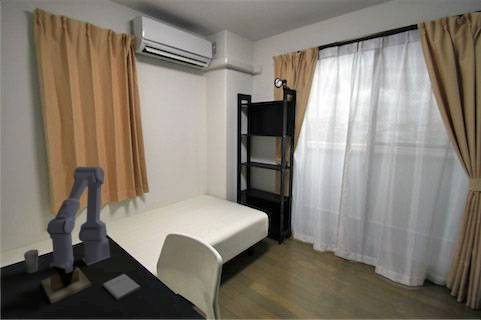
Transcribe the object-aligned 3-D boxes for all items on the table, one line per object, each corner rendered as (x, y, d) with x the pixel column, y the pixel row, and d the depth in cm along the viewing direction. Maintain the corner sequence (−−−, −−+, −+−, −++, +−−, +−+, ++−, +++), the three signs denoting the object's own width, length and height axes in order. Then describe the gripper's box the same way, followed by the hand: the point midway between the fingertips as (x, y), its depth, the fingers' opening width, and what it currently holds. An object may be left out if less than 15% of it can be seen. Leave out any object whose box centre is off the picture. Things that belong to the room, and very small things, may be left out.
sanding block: (76, 276, 90) (75, 266, 89) (79, 281, 87) (78, 270, 87) (50, 287, 83) (49, 275, 83) (53, 291, 81) (52, 280, 80)
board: (78, 269, 96) (77, 267, 96) (91, 285, 86) (90, 283, 86) (41, 283, 87) (41, 280, 87) (51, 303, 77) (51, 300, 77)
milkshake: (32, 275, 92) (30, 252, 91) (22, 273, 93) (20, 250, 92) (44, 268, 96) (42, 247, 95) (34, 267, 97) (32, 245, 96)
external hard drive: (118, 302, 79) (103, 287, 86) (140, 289, 86) (124, 276, 93) (117, 297, 79) (103, 283, 86) (140, 285, 85) (124, 273, 93)
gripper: (44, 246, 85) (47, 279, 87) (54, 260, 76) (57, 297, 78) (67, 240, 91) (69, 271, 92) (78, 252, 82) (80, 286, 83)
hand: (65, 282), depth 85 cm, fingers closed on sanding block, 4 cm apart
